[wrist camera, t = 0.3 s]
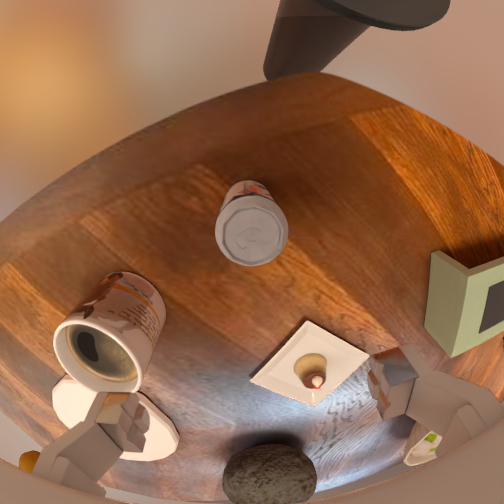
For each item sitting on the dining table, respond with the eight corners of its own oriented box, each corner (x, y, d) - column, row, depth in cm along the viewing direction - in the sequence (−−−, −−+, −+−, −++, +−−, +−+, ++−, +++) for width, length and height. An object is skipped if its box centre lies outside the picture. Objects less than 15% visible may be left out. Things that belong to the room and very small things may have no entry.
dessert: (312, 402, 39) (318, 424, 35) (249, 375, 37) (250, 401, 32) (367, 350, 36) (379, 372, 32) (305, 315, 34) (313, 338, 29)
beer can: (280, 211, 29) (303, 249, 18) (240, 234, 30) (239, 284, 19) (256, 171, 28) (266, 183, 17) (215, 195, 29) (199, 223, 17)
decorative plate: (106, 376, 32) (201, 464, 40) (116, 357, 36) (202, 447, 43) (25, 394, 34) (107, 468, 42) (34, 381, 38) (111, 455, 46)
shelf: (431, 252, 32) (469, 277, 24) (524, 225, 31) (556, 240, 23) (423, 327, 36) (451, 359, 28) (515, 286, 35) (542, 306, 27)
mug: (158, 351, 35) (137, 413, 25) (80, 322, 33) (42, 372, 23) (173, 286, 32) (147, 344, 21) (83, 254, 30) (32, 296, 20)
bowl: (415, 382, 40) (439, 421, 31) (478, 369, 41) (502, 398, 32) (375, 443, 46) (388, 478, 37) (438, 427, 48) (454, 455, 38)
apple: (21, 439, 49) (9, 465, 38) (44, 451, 50) (32, 478, 38) (33, 455, 52) (22, 479, 41) (56, 465, 53) (45, 491, 42)
